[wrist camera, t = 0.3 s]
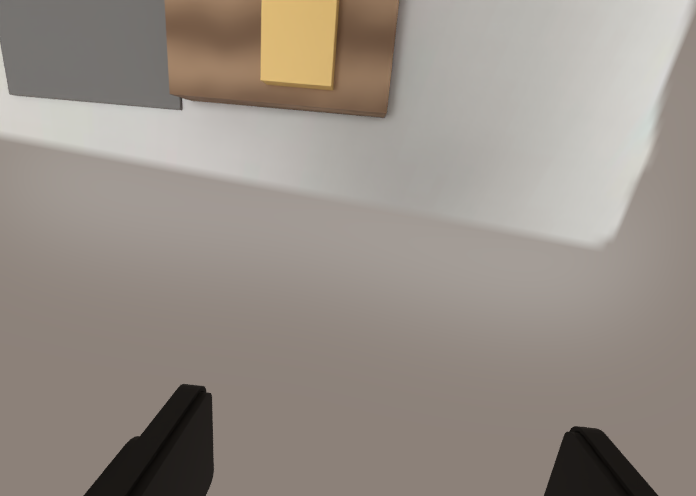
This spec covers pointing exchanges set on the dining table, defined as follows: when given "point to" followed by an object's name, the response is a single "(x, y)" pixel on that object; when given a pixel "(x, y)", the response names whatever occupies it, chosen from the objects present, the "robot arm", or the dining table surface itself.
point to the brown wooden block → (245, 57)
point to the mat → (87, 51)
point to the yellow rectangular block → (299, 43)
